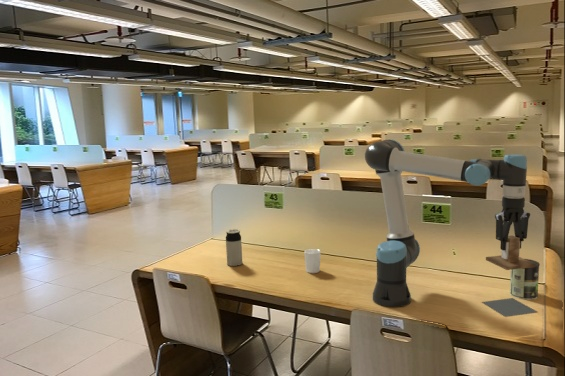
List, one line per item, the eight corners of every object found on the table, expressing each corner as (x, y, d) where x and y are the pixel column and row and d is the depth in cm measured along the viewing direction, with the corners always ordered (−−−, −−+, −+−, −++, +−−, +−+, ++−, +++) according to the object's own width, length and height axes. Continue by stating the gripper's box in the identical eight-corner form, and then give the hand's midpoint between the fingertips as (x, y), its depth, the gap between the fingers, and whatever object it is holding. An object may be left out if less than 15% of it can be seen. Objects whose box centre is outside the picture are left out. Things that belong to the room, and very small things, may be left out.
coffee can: (538, 293, 190) (540, 260, 188) (537, 302, 181) (538, 267, 179) (510, 289, 195) (512, 257, 193) (507, 297, 187) (509, 264, 185)
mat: (505, 317, 169) (505, 316, 169) (481, 303, 183) (481, 302, 183) (538, 313, 172) (538, 312, 172) (512, 298, 185) (512, 298, 185)
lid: (506, 270, 168) (508, 242, 166) (485, 260, 179) (486, 234, 178) (535, 266, 170) (537, 240, 168) (513, 257, 182) (514, 232, 180)
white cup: (302, 272, 225) (302, 253, 224) (307, 267, 232) (307, 248, 231) (318, 274, 222) (317, 254, 221) (323, 269, 229) (322, 249, 228)
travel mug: (245, 262, 244) (243, 229, 241) (236, 267, 237) (234, 233, 234) (233, 260, 248) (231, 228, 245) (224, 265, 241) (222, 231, 239)
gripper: (499, 199, 165) (496, 262, 169) (541, 196, 169) (537, 258, 172) (486, 196, 172) (483, 256, 176) (526, 193, 176) (523, 252, 180)
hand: (510, 257), depth 174 cm, fingers closed on lid, 4 cm apart
